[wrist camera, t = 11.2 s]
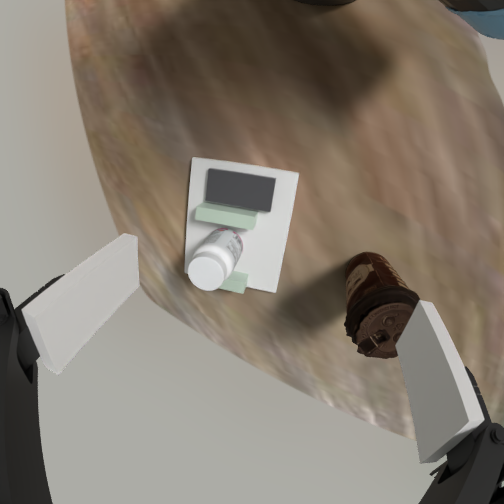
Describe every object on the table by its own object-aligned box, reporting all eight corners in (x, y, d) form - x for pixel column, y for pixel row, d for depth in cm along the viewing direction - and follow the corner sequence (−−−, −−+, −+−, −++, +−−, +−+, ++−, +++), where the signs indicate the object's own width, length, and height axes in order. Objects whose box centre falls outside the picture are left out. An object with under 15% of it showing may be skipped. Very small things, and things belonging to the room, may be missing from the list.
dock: (195, 156, 34) (184, 159, 31) (299, 172, 33) (298, 176, 30) (187, 269, 41) (177, 281, 37) (276, 289, 39) (273, 302, 36)
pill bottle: (204, 253, 38) (179, 284, 30) (213, 221, 36) (188, 245, 28) (237, 266, 38) (220, 300, 30) (249, 234, 36) (233, 263, 28)
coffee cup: (332, 299, 38) (339, 364, 27) (337, 242, 35) (351, 296, 23) (391, 299, 37) (416, 362, 25) (400, 245, 34) (438, 296, 22)
